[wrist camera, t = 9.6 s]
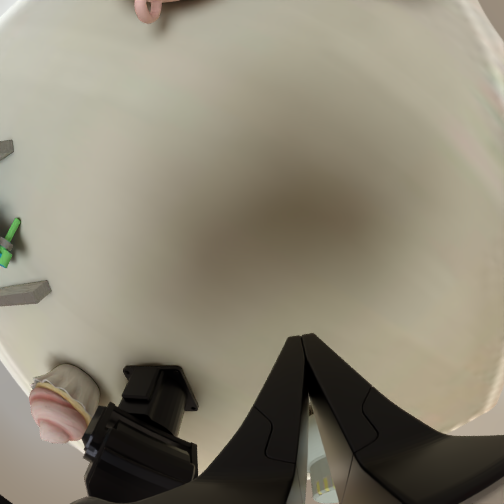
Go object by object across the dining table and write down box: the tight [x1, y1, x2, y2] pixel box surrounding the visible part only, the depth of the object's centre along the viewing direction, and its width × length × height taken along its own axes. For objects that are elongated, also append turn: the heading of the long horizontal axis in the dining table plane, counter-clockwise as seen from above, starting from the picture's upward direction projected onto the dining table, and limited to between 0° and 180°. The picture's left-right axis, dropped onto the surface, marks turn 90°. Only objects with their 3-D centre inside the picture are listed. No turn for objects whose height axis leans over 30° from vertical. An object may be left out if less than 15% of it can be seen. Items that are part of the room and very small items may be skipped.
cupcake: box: [29, 364, 100, 443], centre depth 22 cm, size 9×9×10 cm
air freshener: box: [307, 414, 339, 503], centre depth 23 cm, size 11×8×10 cm
